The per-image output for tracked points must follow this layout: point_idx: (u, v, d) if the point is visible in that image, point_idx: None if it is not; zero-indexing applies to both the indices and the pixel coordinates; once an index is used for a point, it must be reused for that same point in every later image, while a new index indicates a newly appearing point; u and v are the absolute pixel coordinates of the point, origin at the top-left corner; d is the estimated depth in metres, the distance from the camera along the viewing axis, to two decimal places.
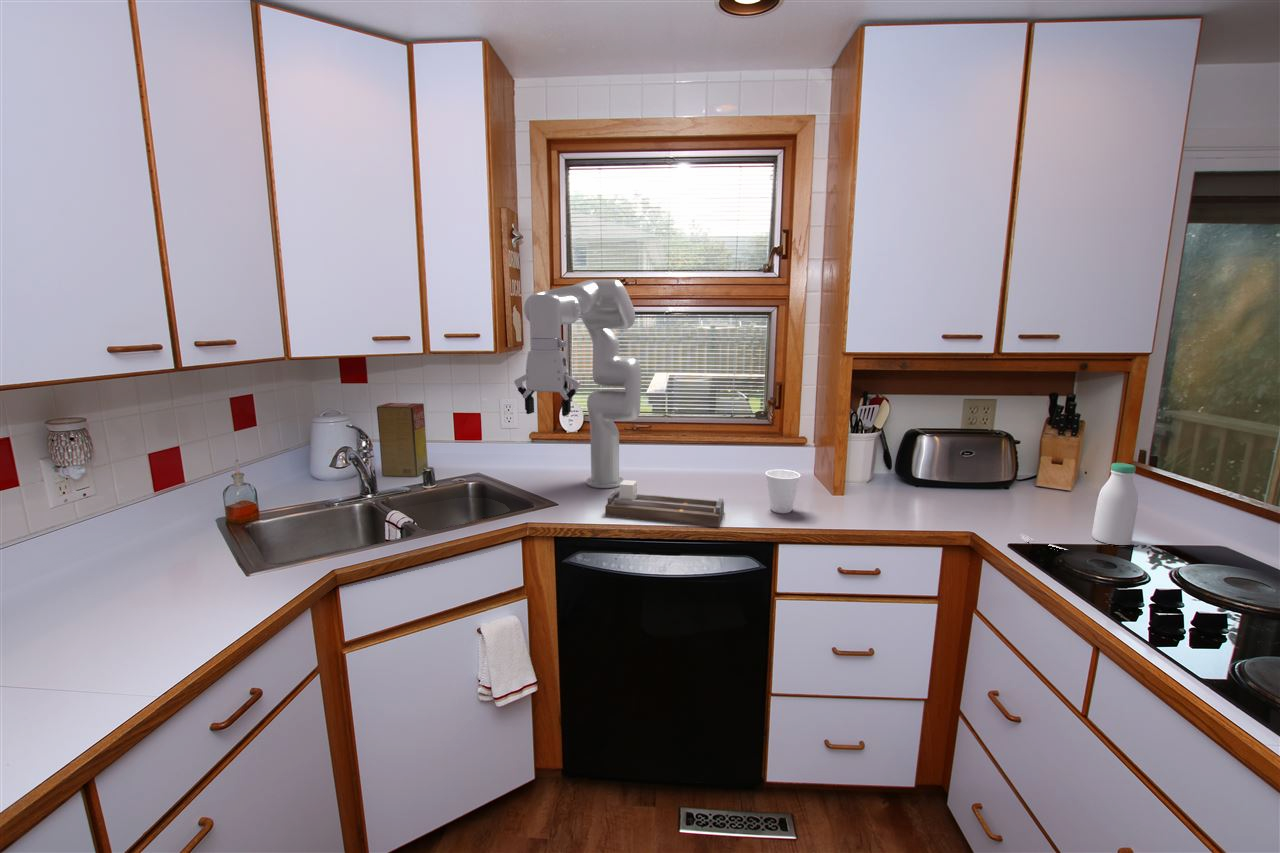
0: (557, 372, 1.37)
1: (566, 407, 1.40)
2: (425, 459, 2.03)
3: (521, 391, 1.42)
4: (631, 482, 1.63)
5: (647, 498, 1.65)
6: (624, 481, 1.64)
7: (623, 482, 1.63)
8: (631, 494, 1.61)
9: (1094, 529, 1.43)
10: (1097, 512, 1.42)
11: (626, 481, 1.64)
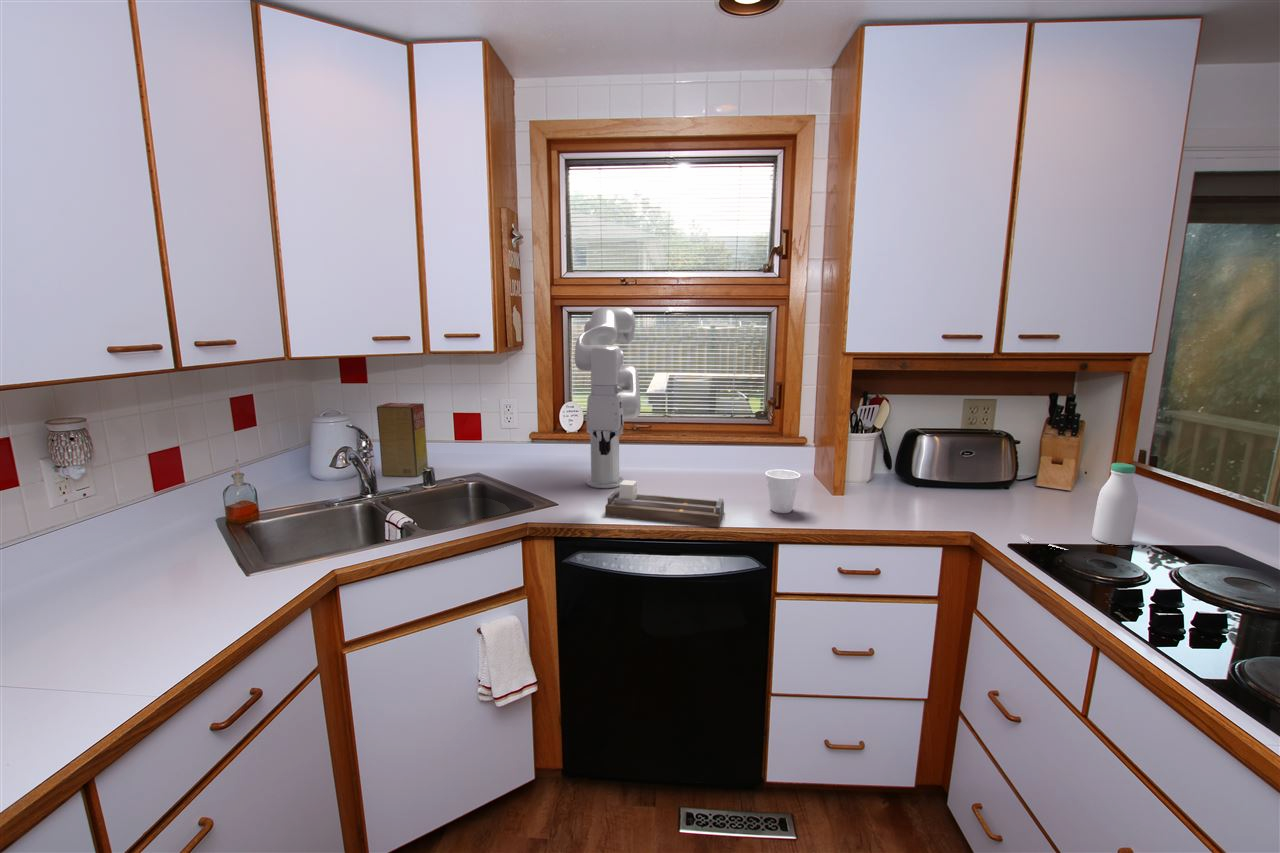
0: (615, 414, 1.57)
1: (607, 447, 1.61)
2: (425, 459, 2.03)
3: (596, 435, 1.61)
4: (631, 482, 1.63)
5: (647, 498, 1.65)
6: (624, 481, 1.64)
7: (623, 482, 1.63)
8: (631, 494, 1.61)
9: (1094, 529, 1.43)
10: (1097, 512, 1.42)
11: (626, 481, 1.64)
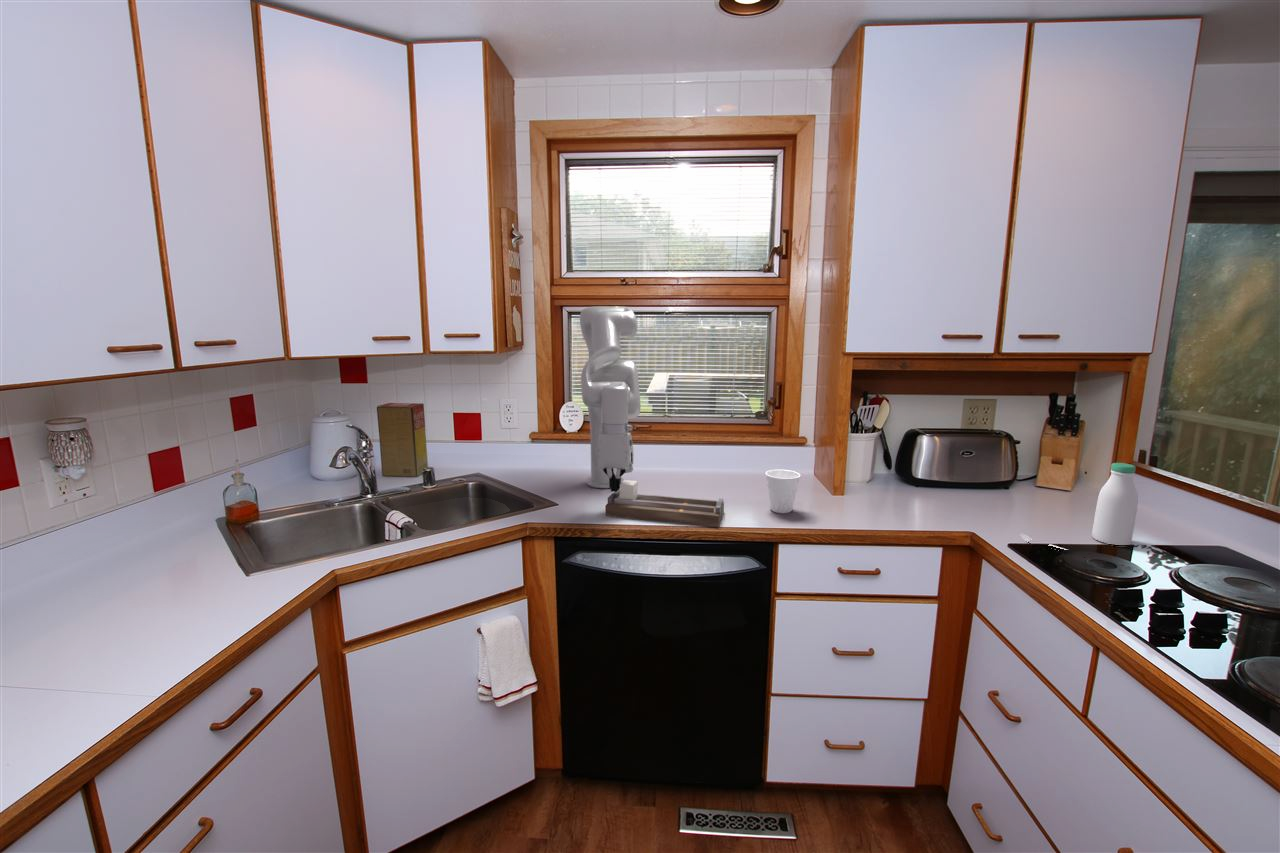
0: (625, 452, 1.59)
1: (617, 484, 1.63)
2: (425, 459, 2.03)
3: (606, 471, 1.63)
4: (632, 482, 1.63)
5: (647, 498, 1.65)
6: (624, 481, 1.64)
7: (623, 482, 1.63)
8: (632, 494, 1.61)
9: (1094, 529, 1.43)
10: (1097, 512, 1.42)
11: (626, 481, 1.64)
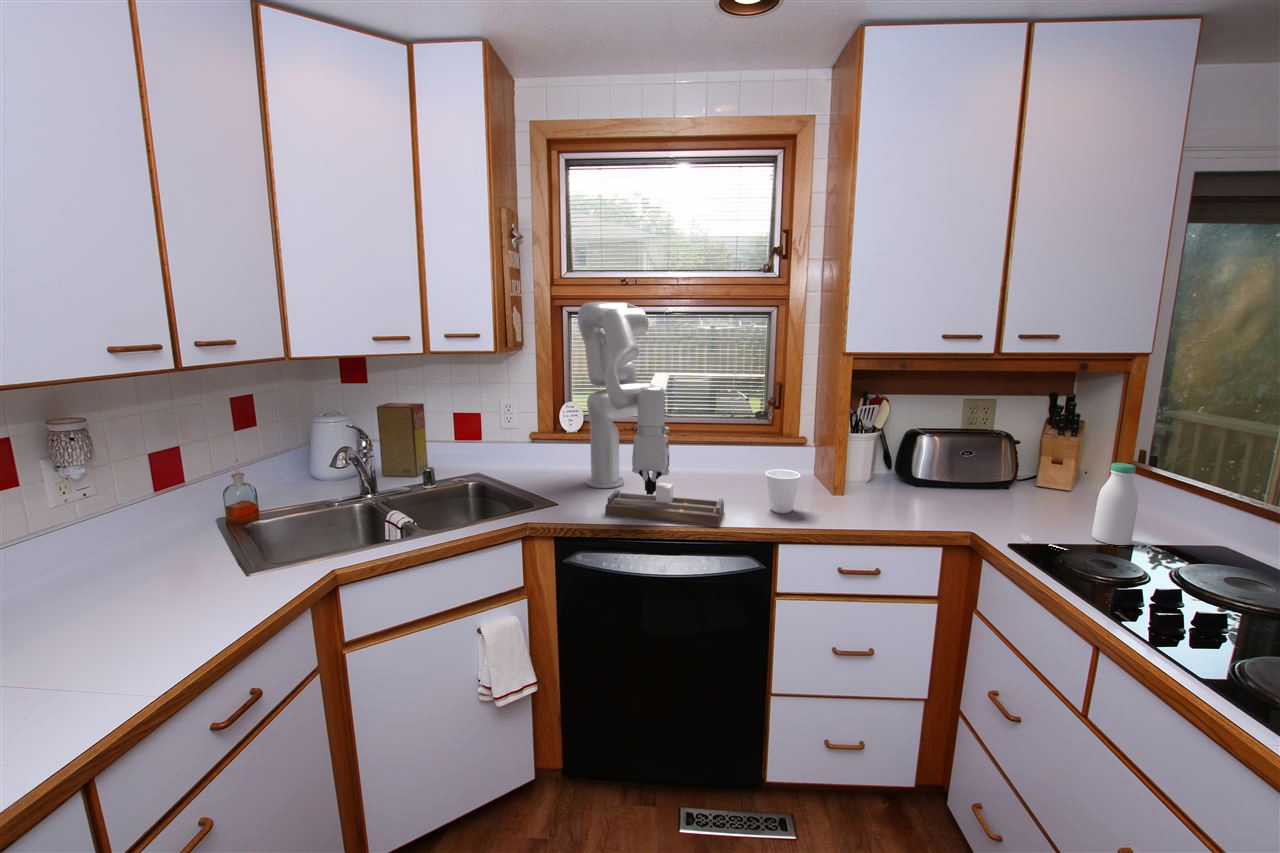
0: (662, 455, 1.56)
1: (653, 487, 1.60)
2: (425, 459, 2.03)
3: (642, 474, 1.60)
4: (668, 485, 1.60)
5: (647, 498, 1.65)
6: (660, 484, 1.61)
7: (659, 485, 1.60)
8: (668, 497, 1.58)
9: (1094, 529, 1.43)
10: (1097, 512, 1.42)
11: (662, 484, 1.61)
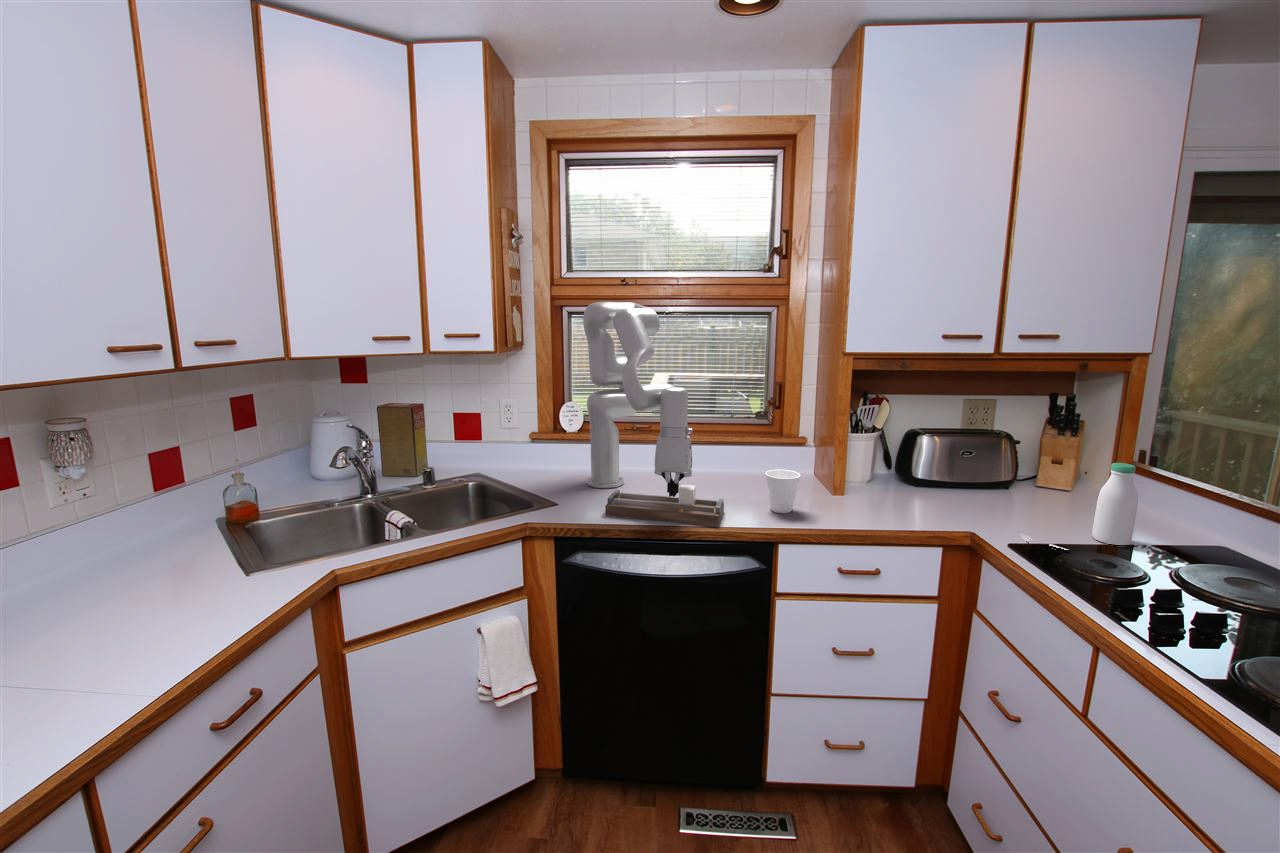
0: (685, 456, 1.55)
1: (675, 489, 1.59)
2: (425, 459, 2.03)
3: (664, 476, 1.59)
4: (691, 487, 1.59)
5: (647, 498, 1.65)
6: (683, 486, 1.60)
7: (682, 487, 1.59)
8: (691, 499, 1.57)
9: (1094, 529, 1.43)
10: (1097, 512, 1.42)
11: (685, 486, 1.60)
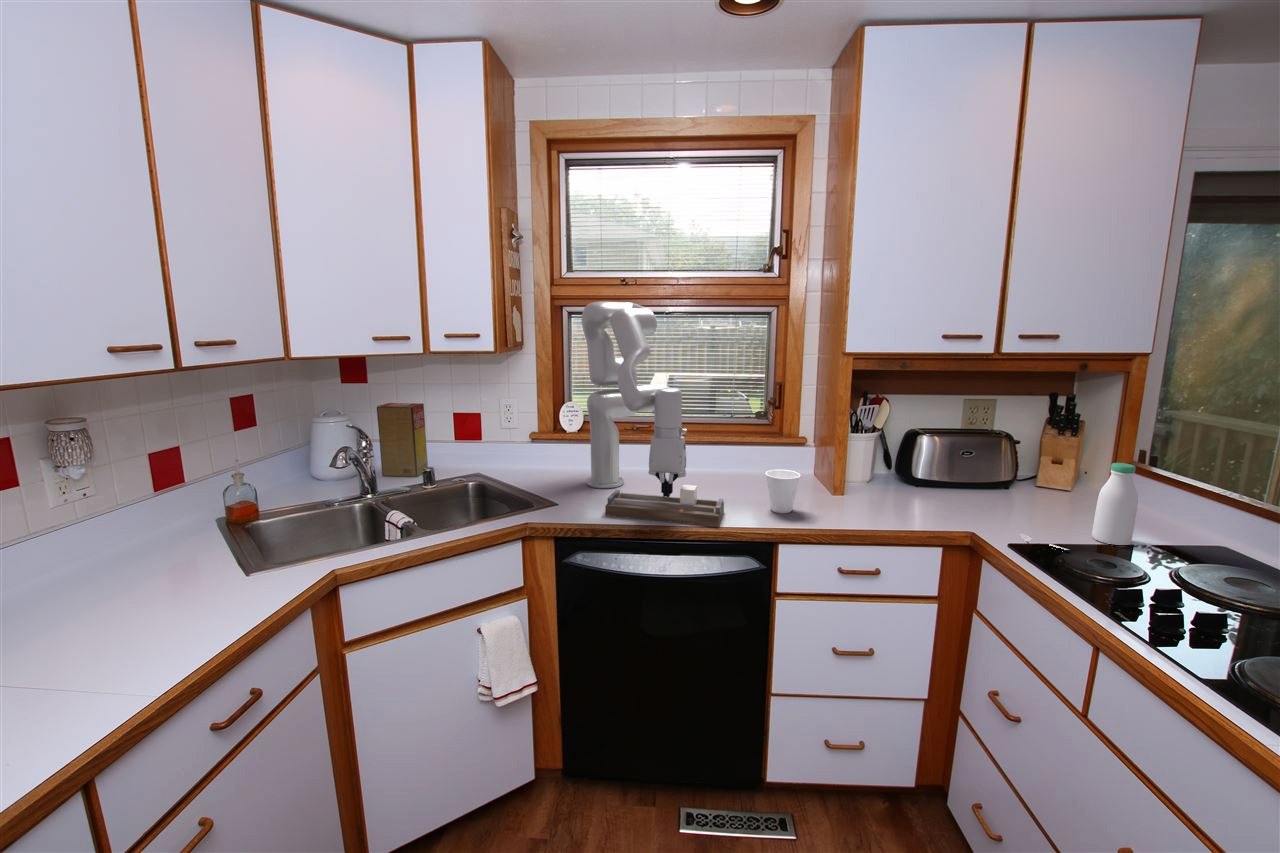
0: (679, 457, 1.55)
1: (670, 489, 1.59)
2: (425, 459, 2.03)
3: (658, 476, 1.59)
4: (692, 487, 1.58)
5: (647, 498, 1.65)
6: (684, 486, 1.60)
7: (683, 487, 1.59)
8: (692, 499, 1.56)
9: (1094, 529, 1.43)
10: (1097, 512, 1.42)
11: (686, 486, 1.60)
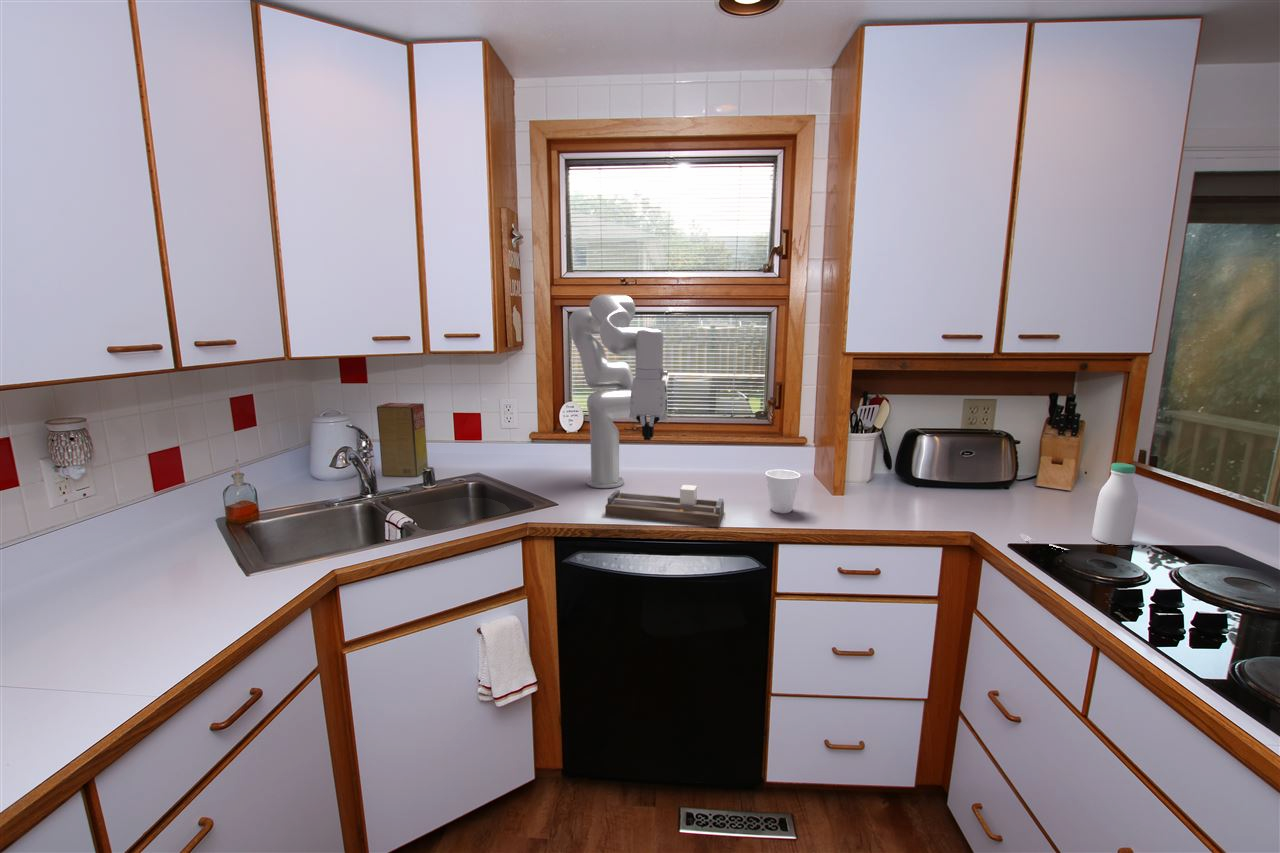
0: (660, 399, 1.54)
1: (650, 432, 1.58)
2: (425, 459, 2.03)
3: (639, 419, 1.58)
4: (692, 487, 1.58)
5: (647, 498, 1.65)
6: (684, 486, 1.60)
7: (683, 487, 1.59)
8: (692, 499, 1.56)
9: (1094, 529, 1.43)
10: (1097, 512, 1.42)
11: (686, 486, 1.60)
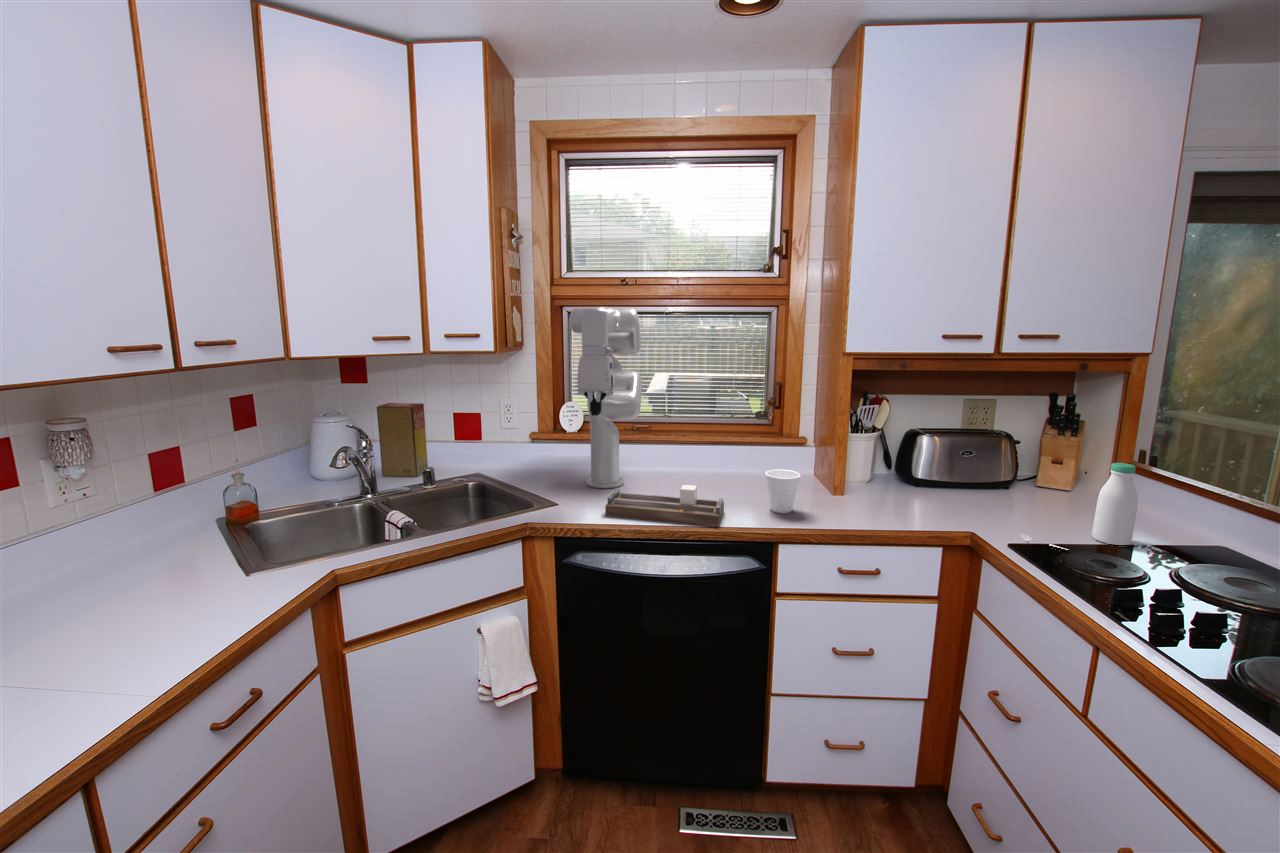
0: (605, 374, 1.61)
1: (598, 408, 1.64)
2: (425, 459, 2.03)
3: (587, 395, 1.65)
4: (692, 487, 1.58)
5: (647, 498, 1.65)
6: (684, 486, 1.60)
7: (683, 487, 1.59)
8: (692, 499, 1.56)
9: (1094, 529, 1.43)
10: (1097, 512, 1.42)
11: (686, 486, 1.60)
